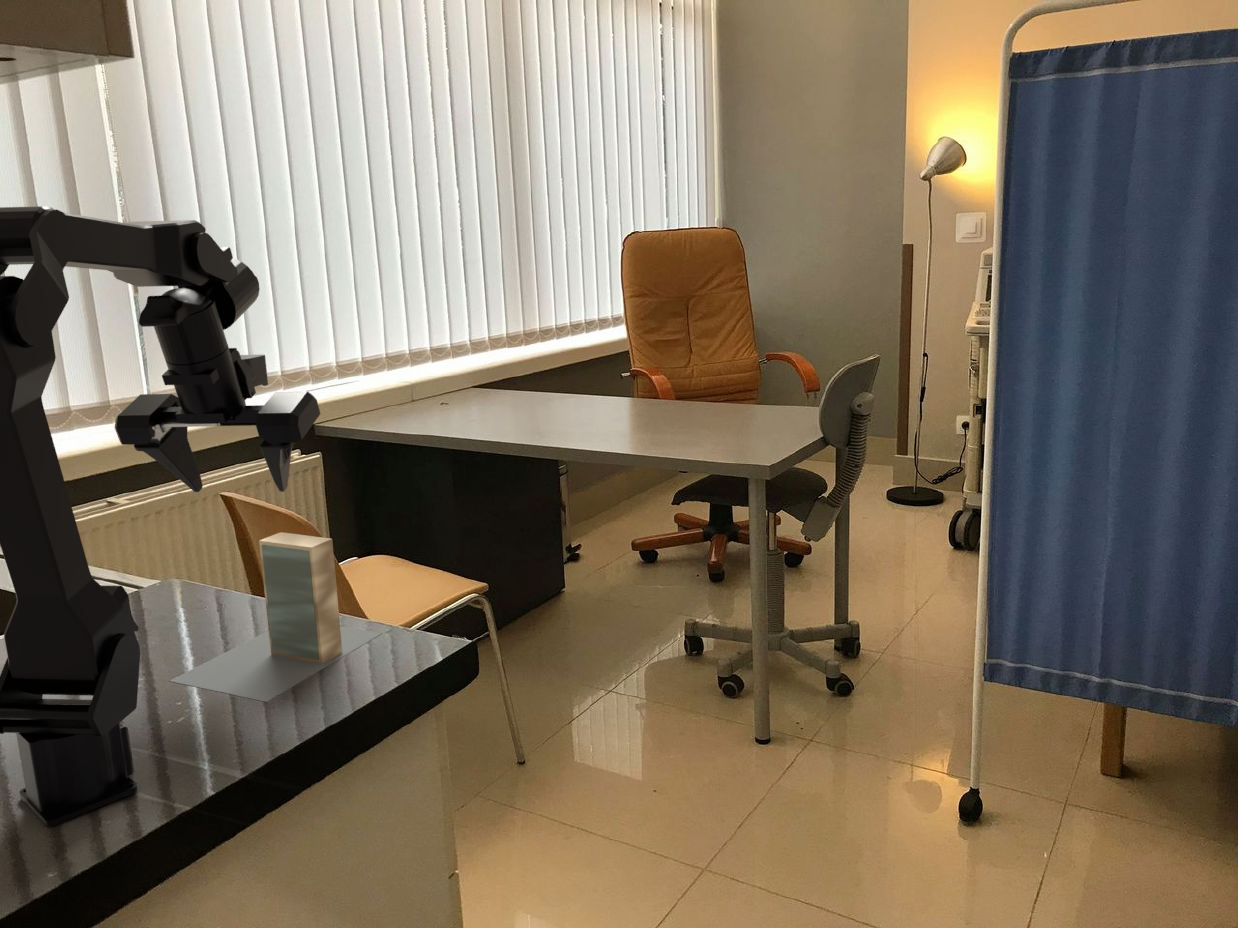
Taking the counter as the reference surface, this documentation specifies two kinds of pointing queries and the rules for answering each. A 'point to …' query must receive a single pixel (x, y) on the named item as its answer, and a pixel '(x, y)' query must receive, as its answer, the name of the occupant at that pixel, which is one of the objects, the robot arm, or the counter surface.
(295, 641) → the tile
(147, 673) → the counter surface
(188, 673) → the mat
